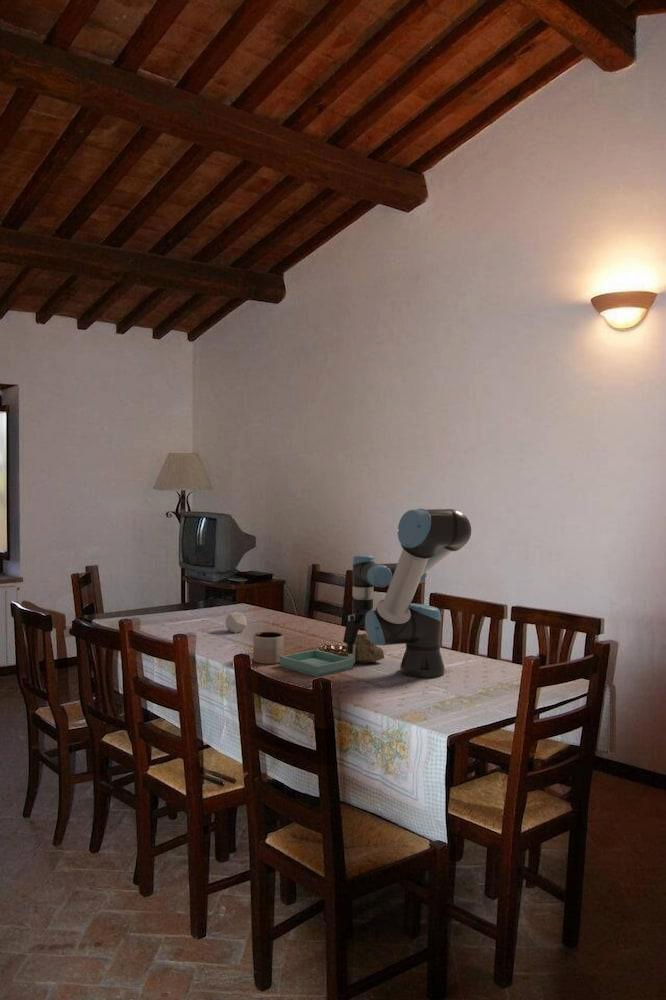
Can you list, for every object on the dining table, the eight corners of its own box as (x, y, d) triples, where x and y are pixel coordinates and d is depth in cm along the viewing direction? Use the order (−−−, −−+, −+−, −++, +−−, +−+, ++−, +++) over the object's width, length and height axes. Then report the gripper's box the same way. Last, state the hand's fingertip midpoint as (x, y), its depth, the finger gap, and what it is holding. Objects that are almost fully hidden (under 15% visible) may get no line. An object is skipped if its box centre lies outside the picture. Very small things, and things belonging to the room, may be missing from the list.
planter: (271, 666, 290) (272, 639, 290) (246, 661, 296) (247, 635, 296) (289, 660, 300) (290, 634, 299) (265, 656, 305) (265, 630, 305)
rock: (353, 649, 291) (373, 632, 296) (335, 645, 302) (354, 628, 307) (368, 674, 294) (387, 656, 299) (349, 669, 305) (368, 652, 309)
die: (250, 634, 346) (250, 612, 351) (239, 626, 339) (238, 604, 345) (233, 639, 349) (233, 618, 354) (221, 632, 342) (221, 610, 348)
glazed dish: (353, 669, 289) (353, 659, 289) (317, 677, 277) (317, 666, 277) (315, 658, 302) (315, 649, 302) (279, 666, 290) (279, 656, 290)
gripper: (375, 593, 309) (374, 653, 310) (333, 599, 294) (332, 663, 295) (390, 596, 304) (389, 657, 305) (348, 602, 288) (347, 667, 289)
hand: (361, 660), depth 300 cm, fingers closed on rock, 9 cm apart
